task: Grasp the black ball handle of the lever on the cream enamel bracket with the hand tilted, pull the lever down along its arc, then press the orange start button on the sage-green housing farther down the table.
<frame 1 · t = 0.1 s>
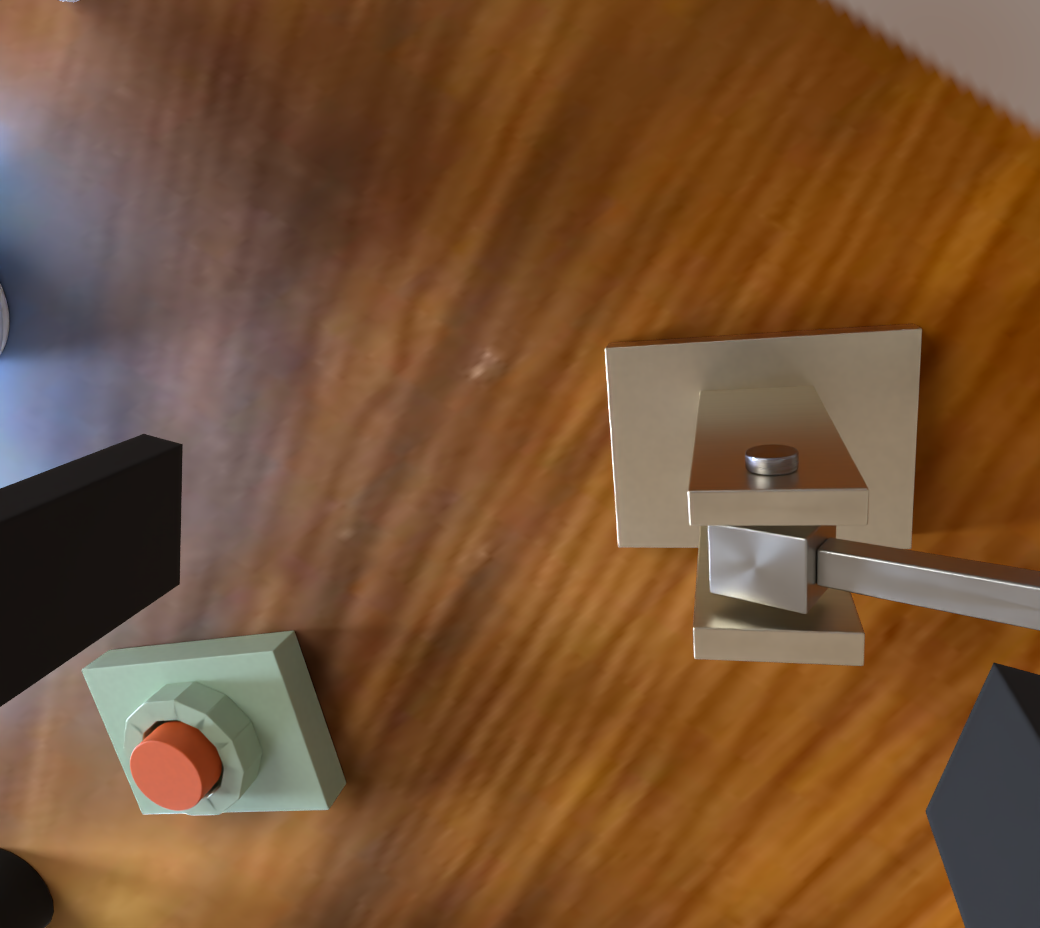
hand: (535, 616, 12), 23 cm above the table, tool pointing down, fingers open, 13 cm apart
lever: (1030, 598, 18), point 15 cm above the table, hinge at 25.0°
wine bottle: (11, 887, 56), on the table
lever bracket: (755, 438, 33), on the table
button box: (226, 715, 45), on the table
start button: (176, 765, 41), point 4 cm above the table, slide at 0.1 cm
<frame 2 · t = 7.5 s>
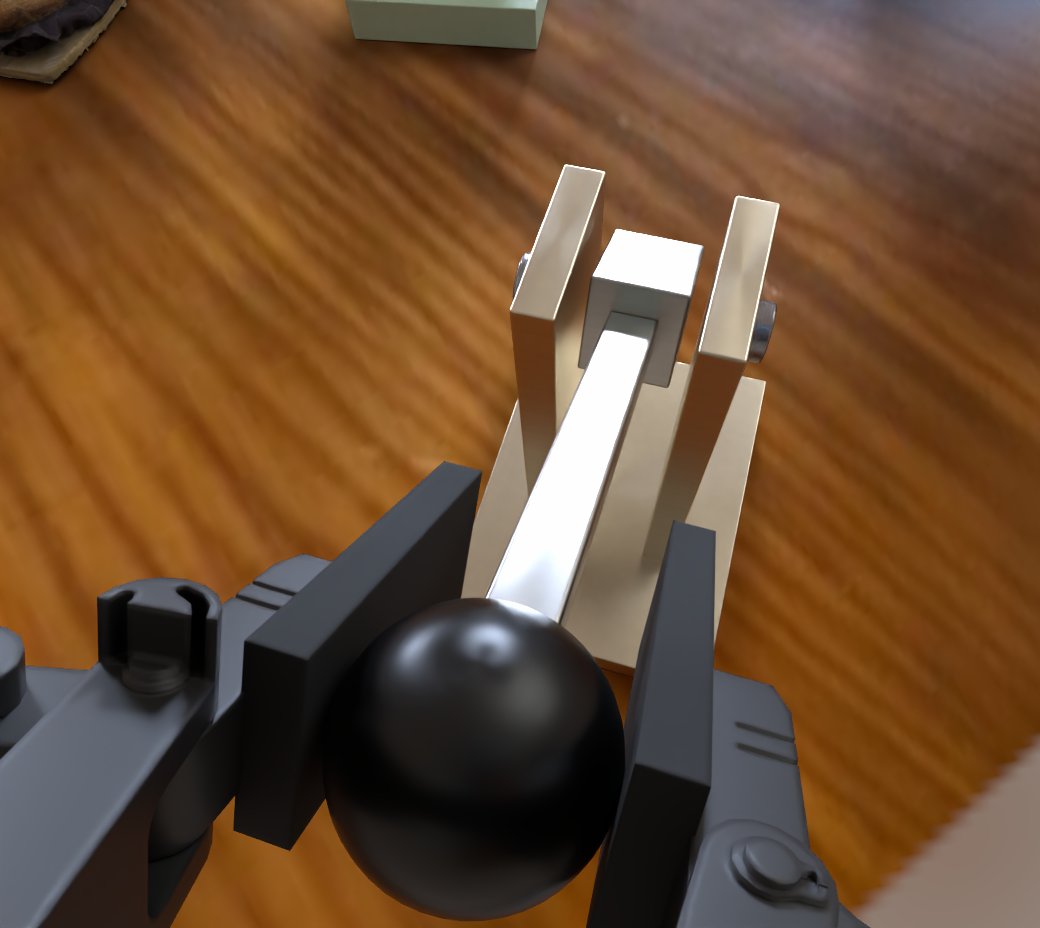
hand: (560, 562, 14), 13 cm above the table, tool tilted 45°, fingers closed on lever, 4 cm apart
lever: (582, 462, 14), point 15 cm above the table, hinge at 25.0°, touching gripper
bread roll: (50, 22, 44), on the table
lever bracket: (611, 504, 29), on the table
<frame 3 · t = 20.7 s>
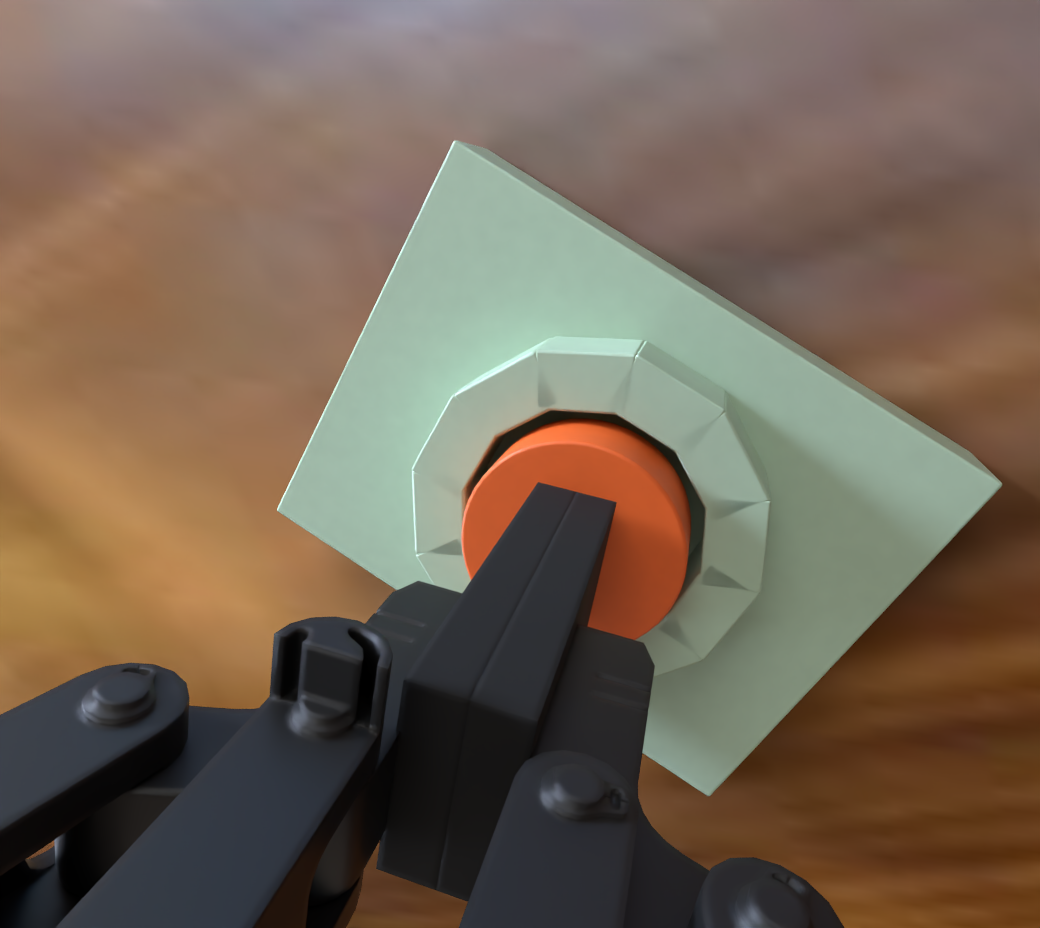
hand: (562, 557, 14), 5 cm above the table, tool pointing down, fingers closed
button box: (607, 469, 19), on the table
start button: (577, 534, 15), point 4 cm above the table, slide at -0.2 cm, touching gripper
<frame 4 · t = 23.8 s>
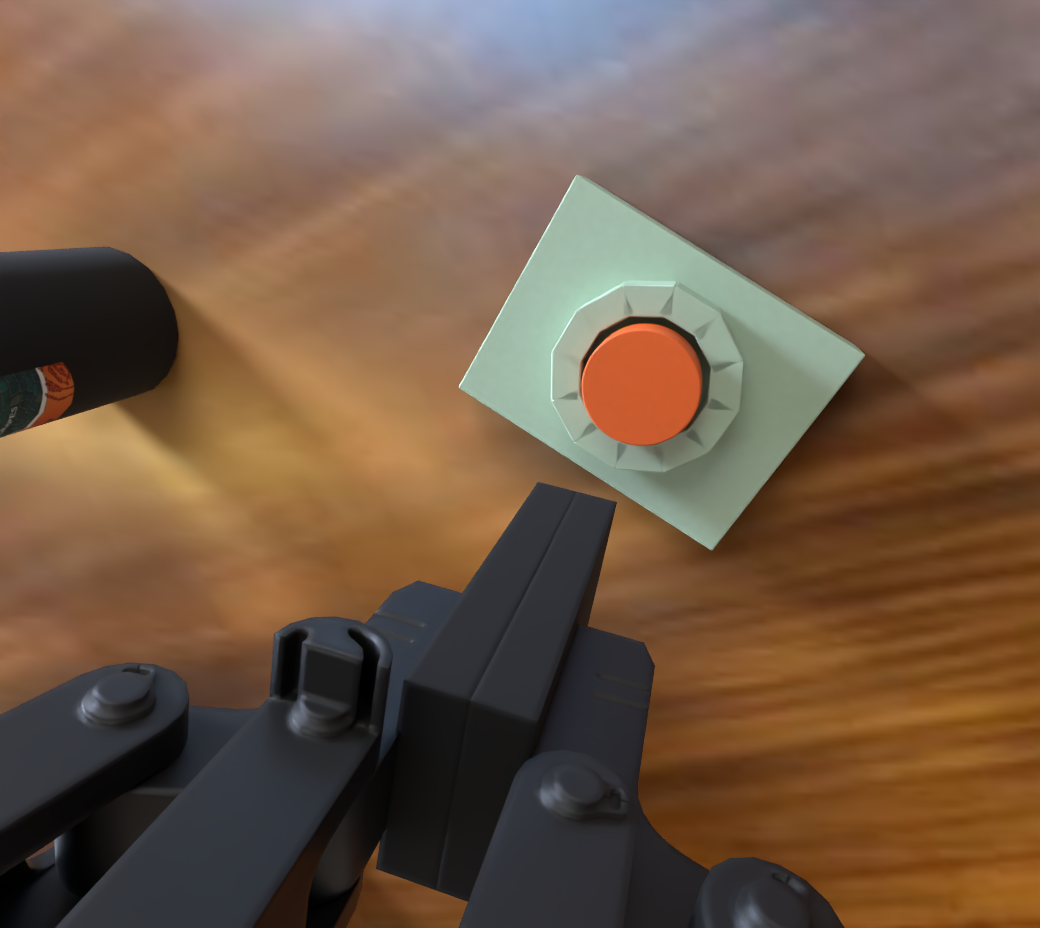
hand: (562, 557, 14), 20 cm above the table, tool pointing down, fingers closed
wine bottle: (115, 322, 39), on the table
button box: (652, 363, 33), on the table
start button: (642, 384, 29), point 4 cm above the table, slide at 0.1 cm
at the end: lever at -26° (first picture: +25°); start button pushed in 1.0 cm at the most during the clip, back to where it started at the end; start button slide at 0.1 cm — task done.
